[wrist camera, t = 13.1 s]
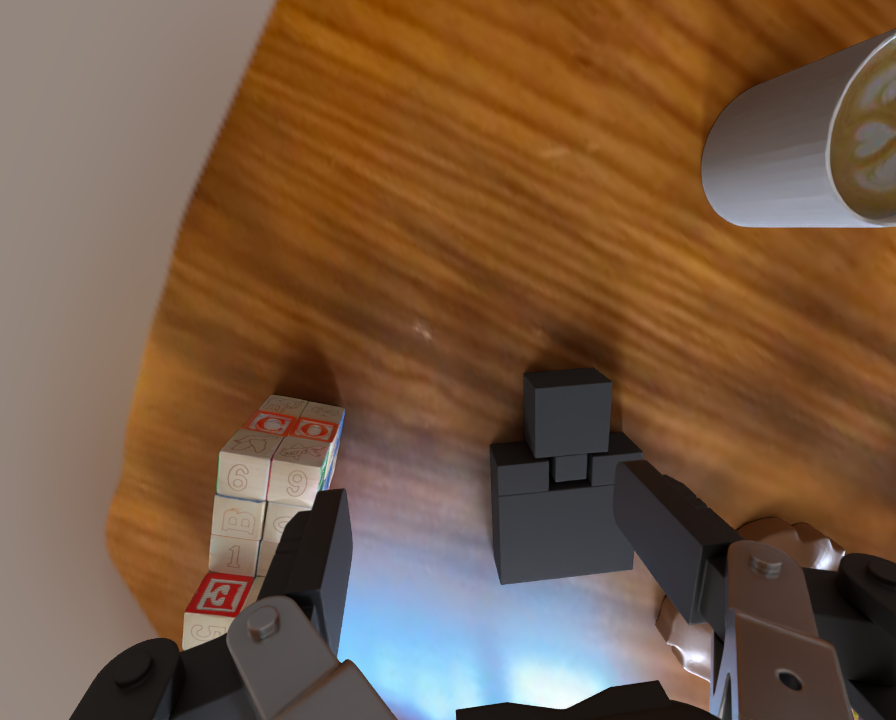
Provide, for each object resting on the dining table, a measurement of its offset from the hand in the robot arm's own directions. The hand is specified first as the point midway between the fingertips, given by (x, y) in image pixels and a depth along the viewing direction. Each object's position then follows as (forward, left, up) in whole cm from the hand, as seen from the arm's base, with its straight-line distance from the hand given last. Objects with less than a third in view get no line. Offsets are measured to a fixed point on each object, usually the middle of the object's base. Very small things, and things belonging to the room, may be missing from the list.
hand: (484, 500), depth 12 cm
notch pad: (+10, -17, -22) cm, 29 cm away
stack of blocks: (-14, -15, -22) cm, 31 cm away
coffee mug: (+27, +10, -22) cm, 36 cm away
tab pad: (+10, -9, -22) cm, 26 cm away
